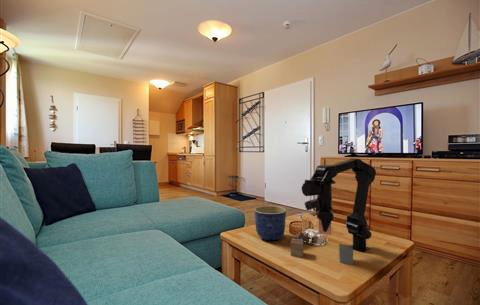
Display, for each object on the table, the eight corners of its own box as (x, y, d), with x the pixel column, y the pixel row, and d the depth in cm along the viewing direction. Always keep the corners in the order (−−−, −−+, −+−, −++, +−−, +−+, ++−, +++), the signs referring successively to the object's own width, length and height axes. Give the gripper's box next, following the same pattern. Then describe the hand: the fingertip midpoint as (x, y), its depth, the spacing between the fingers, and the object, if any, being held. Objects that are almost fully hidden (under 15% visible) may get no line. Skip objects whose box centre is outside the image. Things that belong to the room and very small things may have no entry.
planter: (248, 236, 125) (248, 208, 125) (271, 229, 135) (271, 204, 134) (268, 246, 111) (268, 215, 111) (293, 239, 120) (292, 210, 120)
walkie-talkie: (298, 233, 130) (291, 246, 111) (298, 225, 130) (291, 237, 111) (314, 235, 126) (309, 250, 108) (314, 227, 126) (309, 240, 108)
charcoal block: (339, 257, 99) (338, 243, 99) (351, 259, 98) (351, 245, 98) (339, 262, 95) (339, 248, 95) (353, 264, 93) (353, 250, 93)
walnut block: (292, 251, 106) (292, 238, 106) (303, 252, 104) (303, 239, 104) (290, 255, 101) (290, 242, 101) (302, 257, 100) (302, 243, 100)
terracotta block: (319, 229, 103) (318, 216, 103) (330, 231, 101) (330, 217, 101) (318, 233, 98) (318, 219, 98) (331, 235, 97) (331, 221, 97)
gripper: (306, 189, 111) (307, 221, 111) (304, 197, 94) (304, 235, 94) (331, 190, 108) (331, 223, 108) (333, 199, 90) (333, 238, 90)
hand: (324, 229), depth 100 cm, fingers closed on terracotta block, 5 cm apart
